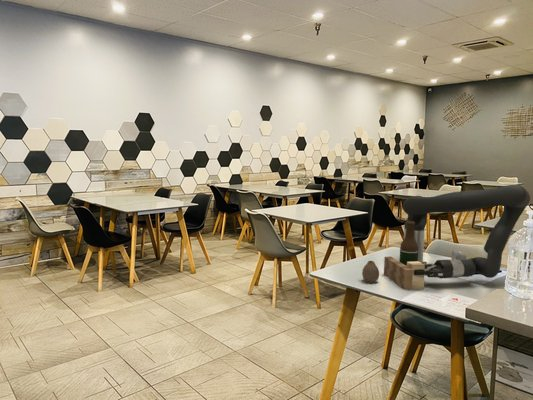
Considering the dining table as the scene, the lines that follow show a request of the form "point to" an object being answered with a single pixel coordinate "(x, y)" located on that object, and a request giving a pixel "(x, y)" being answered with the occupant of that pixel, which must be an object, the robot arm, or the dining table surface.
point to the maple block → (418, 279)
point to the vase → (370, 272)
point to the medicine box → (458, 255)
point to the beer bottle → (409, 245)
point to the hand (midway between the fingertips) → (410, 270)
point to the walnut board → (398, 272)
